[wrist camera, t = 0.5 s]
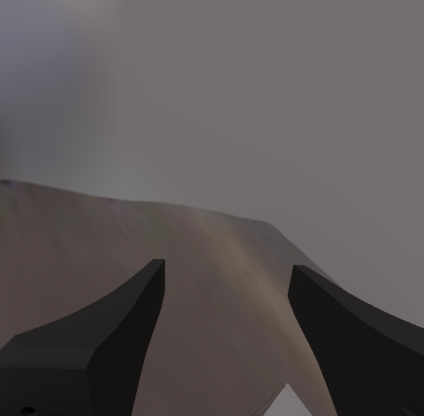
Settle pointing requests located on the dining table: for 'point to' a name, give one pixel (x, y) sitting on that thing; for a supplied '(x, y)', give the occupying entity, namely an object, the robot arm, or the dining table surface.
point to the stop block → (280, 404)
